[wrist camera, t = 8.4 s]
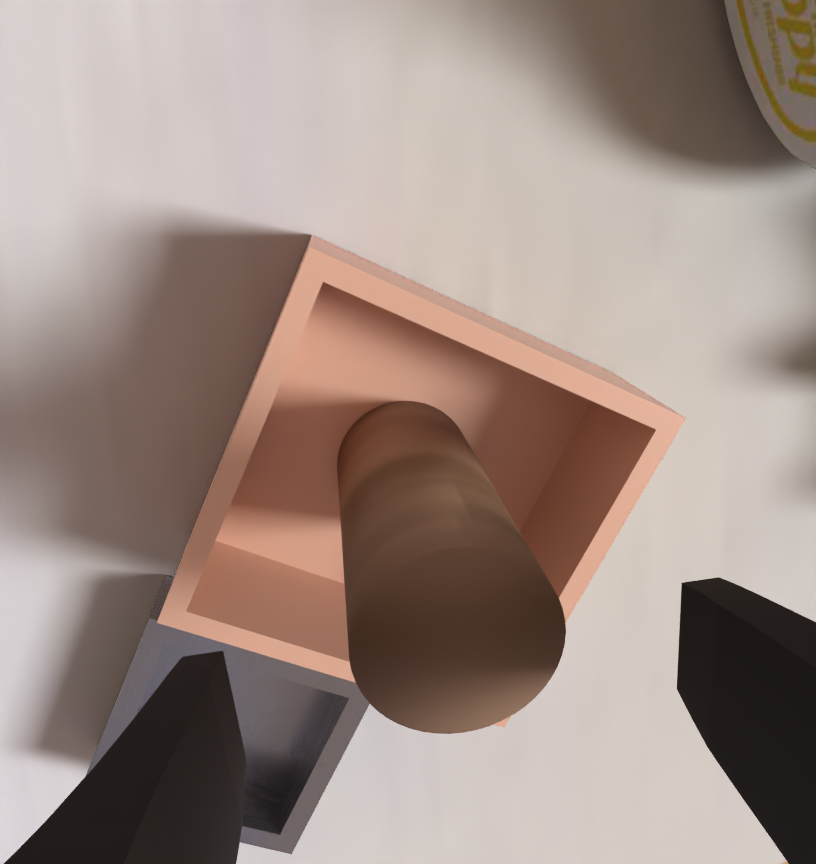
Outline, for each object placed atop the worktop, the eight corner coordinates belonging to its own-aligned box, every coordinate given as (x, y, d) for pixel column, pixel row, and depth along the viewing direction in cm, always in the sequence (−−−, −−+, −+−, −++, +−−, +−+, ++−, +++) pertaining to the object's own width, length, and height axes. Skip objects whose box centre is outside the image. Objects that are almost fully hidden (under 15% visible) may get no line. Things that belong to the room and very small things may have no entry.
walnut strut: (470, 516, 20) (564, 718, 12) (343, 531, 19) (358, 747, 12) (466, 394, 18) (567, 534, 11) (330, 407, 18) (338, 560, 11)
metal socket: (294, 796, 23) (291, 854, 21) (97, 746, 21) (74, 803, 19) (372, 640, 21) (377, 687, 19) (166, 575, 20) (149, 617, 18)
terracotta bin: (472, 633, 22) (504, 727, 18) (188, 539, 19) (156, 622, 16) (615, 373, 19) (686, 418, 16) (311, 234, 17) (308, 247, 13)
